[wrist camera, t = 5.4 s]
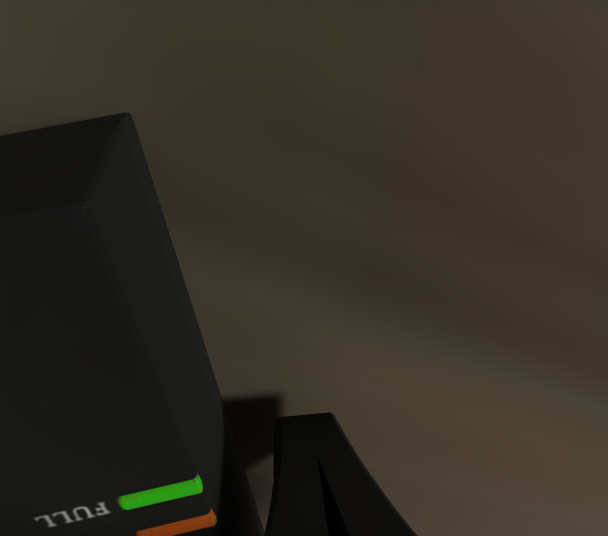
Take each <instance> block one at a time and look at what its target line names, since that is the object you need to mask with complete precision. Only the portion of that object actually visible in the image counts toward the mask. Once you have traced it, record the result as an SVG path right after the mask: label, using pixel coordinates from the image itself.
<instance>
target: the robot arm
mask: <svg viewBox="0 0 608 536" xmlns="http://www.w3.org/2000/svg"><path fill="white" fill-rule="evenodd" d="M273 476H274V483H273V490H272V498H271V504H270V510H269V515H268V520H267V525H266V530H265V535H264V536H417V535H416V534H415V533H414V531H413V530H412V529H411V528H410V526H409V525H408V524H407V523H406V521H405V520H404V519H403V518H402V516H401V515H400V514H399V513H398V511H397V510H396V509H395V507H394V506H393V505H392V503H391V502H390V501H389V500H388V498H387V497H386V495H385V494H384V493H383V491H382V490H381V489H380V487H379V486H378V484H377V483H376V482H375V480H374V479H373V477H372V476H371V475H370V473H369V472H368V470H367V469H366V467H365V466H364V464H363V463H362V461H361V460H360V458H359V457H358V455H357V453H356V452H355V450H354V449H353V447H352V446H351V444H350V442H349V441H348V439H347V437H346V436H345V434H344V432H343V430H342V429H341V427H340V425H339V423H338V422H337V420H336V418H335V416H334V415H333V414H332V413H330V412H329V413H318V414H308V415H297V416H287V417H279V418H278V419H277V420H275V421H274V472H273Z"/></svg>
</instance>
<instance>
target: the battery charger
mask: <svg viewBox="0 0 608 536" xmlns="http://www.w3.org/2000/svg"><path fill="white" fill-rule="evenodd" d="M264 535H265V532H264V529H263V526H262V523H261V520H260V517H259V514H258V510H257V507H256V504H255V501H254V498H253V495H252V492H251V489H250V485H249V482H248V479H247V476H246V473H245V470H244V467H243V463H242V460H241V457H240V454H239V451H238V448H237V445H236V441H235V438H234V435H233V432H232V429H231V426H230V423H229V419H228V416H227V413H226V410H225V407H224V404H223V401H222V398H221V394H220V391H219V388H218V385H217V382H216V379H215V376H214V372H213V369H212V366H211V363H210V360H209V357H208V354H207V350H206V347H205V344H204V341H203V338H202V335H201V332H200V329H199V325H198V322H197V319H196V316H195V313H194V310H193V307H192V303H191V300H190V297H189V294H188V291H187V288H186V285H185V281H184V278H183V275H182V272H181V269H180V266H179V263H178V260H177V256H176V253H175V250H174V247H173V244H172V241H171V238H170V234H169V231H168V228H167V225H166V222H165V219H164V216H163V212H162V209H161V206H160V203H159V200H158V197H157V194H156V190H155V187H154V184H153V181H152V178H151V175H150V172H149V169H148V165H147V162H146V159H145V156H144V153H143V150H142V147H141V143H140V140H139V137H138V134H137V131H136V128H135V125H134V121H133V118H132V116H131V115H130V114H129V113H121V114H116V115H111V116H105V117H100V118H95V119H89V120H84V121H79V122H73V123H68V124H63V125H57V126H52V127H47V128H41V129H36V130H31V131H25V132H20V133H15V134H9V135H4V136H0V536H264Z"/></svg>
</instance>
